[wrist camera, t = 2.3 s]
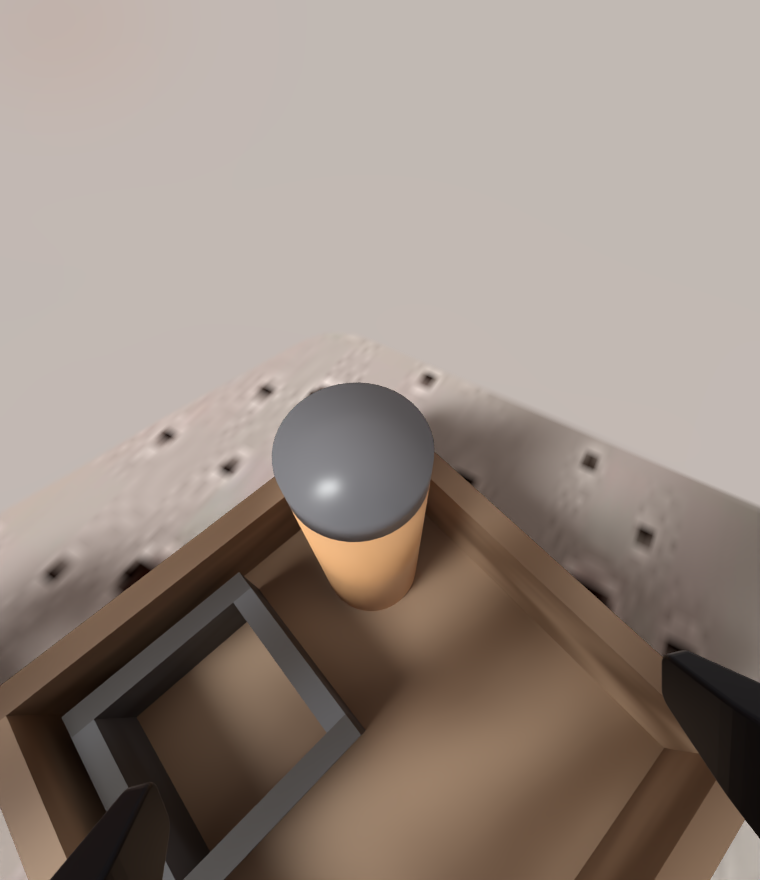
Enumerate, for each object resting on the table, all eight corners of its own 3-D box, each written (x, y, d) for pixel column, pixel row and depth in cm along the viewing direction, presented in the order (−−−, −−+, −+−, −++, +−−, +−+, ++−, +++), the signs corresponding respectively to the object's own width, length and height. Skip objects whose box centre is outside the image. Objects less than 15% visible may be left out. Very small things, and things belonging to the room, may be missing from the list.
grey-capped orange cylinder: (434, 567, 21) (468, 451, 11) (367, 631, 20) (342, 562, 10) (375, 505, 22) (360, 358, 13) (309, 562, 21) (240, 444, 12)
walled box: (694, 748, 18) (778, 761, 14) (330, 1302, 12) (300, 1586, 8) (378, 447, 25) (376, 399, 21) (52, 711, 19) (-36, 713, 15)
